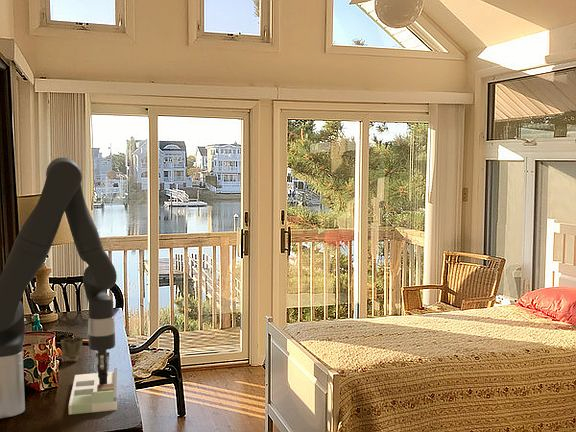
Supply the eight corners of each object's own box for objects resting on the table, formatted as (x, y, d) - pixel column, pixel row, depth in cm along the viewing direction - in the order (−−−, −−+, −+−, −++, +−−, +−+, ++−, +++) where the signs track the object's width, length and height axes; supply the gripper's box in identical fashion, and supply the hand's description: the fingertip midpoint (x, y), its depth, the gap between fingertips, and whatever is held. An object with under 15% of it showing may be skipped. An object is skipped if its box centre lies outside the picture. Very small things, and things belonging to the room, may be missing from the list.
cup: (60, 364, 226) (59, 342, 225) (62, 359, 233) (61, 337, 232) (82, 363, 228) (82, 340, 227) (83, 357, 235) (83, 335, 234)
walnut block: (113, 398, 185) (113, 388, 185) (97, 400, 184) (97, 389, 184) (113, 393, 190) (113, 383, 189) (97, 394, 189) (97, 384, 188)
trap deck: (116, 409, 183) (116, 390, 183) (68, 414, 180) (68, 395, 180) (117, 378, 210) (116, 362, 210) (75, 382, 207) (74, 365, 207)
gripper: (114, 336, 184) (116, 395, 185) (115, 325, 197) (116, 381, 198) (87, 338, 182) (89, 398, 183) (89, 327, 195) (91, 383, 196)
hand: (103, 389), depth 191 cm, fingers closed
